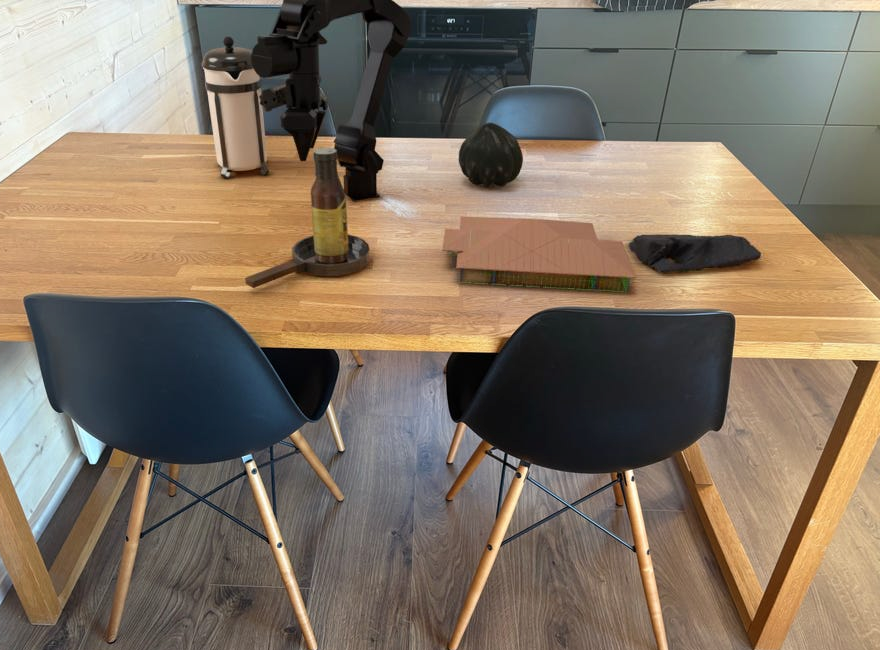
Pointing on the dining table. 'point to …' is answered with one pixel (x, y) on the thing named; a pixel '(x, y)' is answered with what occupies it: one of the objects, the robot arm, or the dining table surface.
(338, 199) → the sauce bottle
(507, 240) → the house
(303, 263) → the pan handle
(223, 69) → the coffee press
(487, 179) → the squash
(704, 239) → the dark slate chunk
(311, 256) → the cast iron pan
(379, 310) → the dining table surface
